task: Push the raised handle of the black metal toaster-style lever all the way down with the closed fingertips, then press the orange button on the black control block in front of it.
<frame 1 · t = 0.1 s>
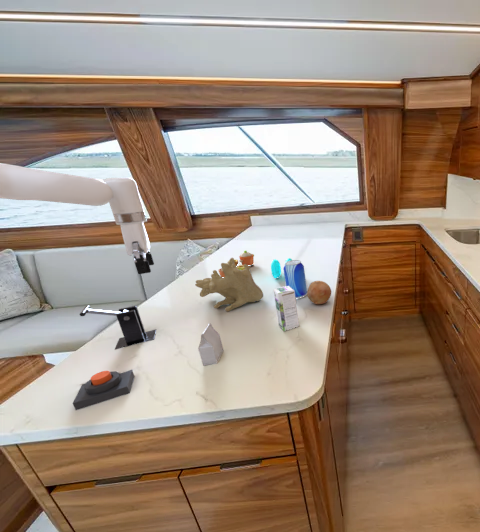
hand: (146, 269, 99), 23 cm above the counter, tool pointing down, fingers open, 9 cm apart
coconut: (320, 303, 126), on the counter
lever: (109, 313, 94), point 12 cm above the counter, hinge at 25.0°
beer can: (297, 296, 133), on the counter
button: (101, 378, 76), point 4 cm above the counter, slide at 0.1 cm
decorative coral: (232, 304, 127), on the counter
cyan lobed shape: (284, 277, 156), on the counter
syrup box: (289, 326, 108), on the counter
toy tea set: (237, 271, 168), on the counter
pale grey crystal: (213, 358, 91), on the counter
bracket: (137, 341, 100), on the counter
control block: (107, 392, 77), on the counter
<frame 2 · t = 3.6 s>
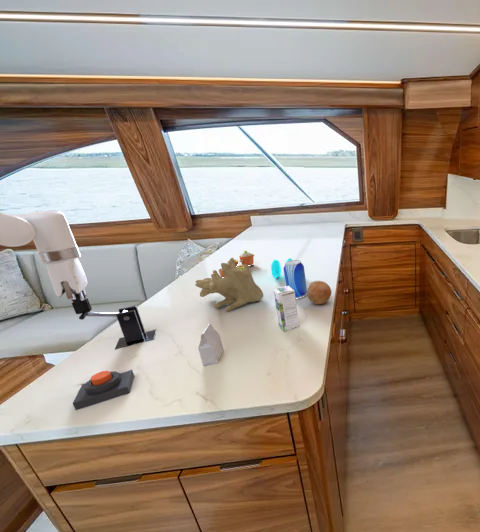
hand: (84, 311, 91), 14 cm above the counter, tool pointing down, fingers closed
lever: (108, 314, 94), point 11 cm above the counter, hinge at 18.8°, touching gripper
everything else where it was.
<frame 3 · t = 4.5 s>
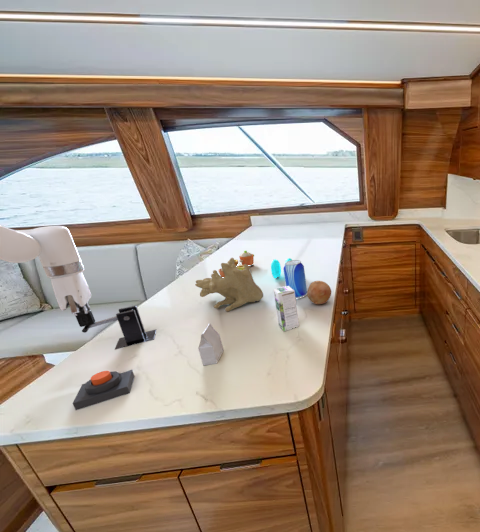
hand: (87, 324, 92), 10 cm above the counter, tool pointing down, fingers closed
lever: (109, 320, 95), point 10 cm above the counter, hinge at -6.0°, touching gripper
everything else where it was.
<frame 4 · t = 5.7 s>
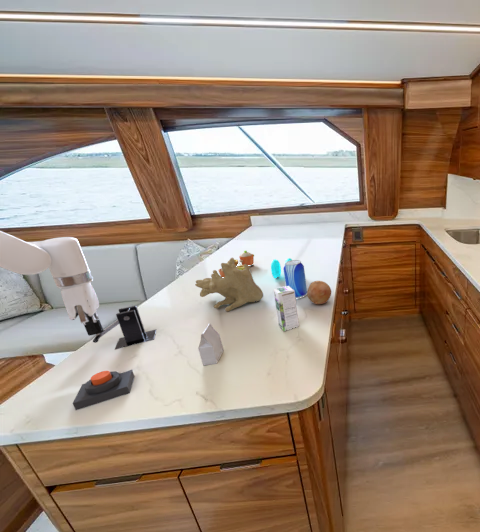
hand: (96, 333, 94), 6 cm above the counter, tool pointing down, fingers closed
lever: (114, 324, 96), point 8 cm above the counter, hinge at -30.7°, touching gripper
everything else where it was.
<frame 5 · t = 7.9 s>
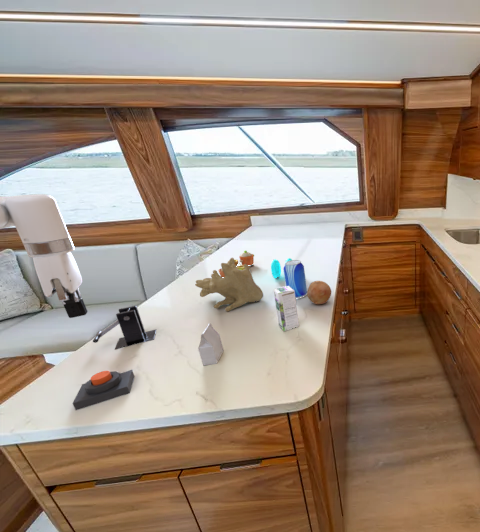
hand: (78, 315, 77), 19 cm above the counter, tool pointing down, fingers closed
lever: (114, 324, 96), point 8 cm above the counter, hinge at -30.7°
everything else where it was.
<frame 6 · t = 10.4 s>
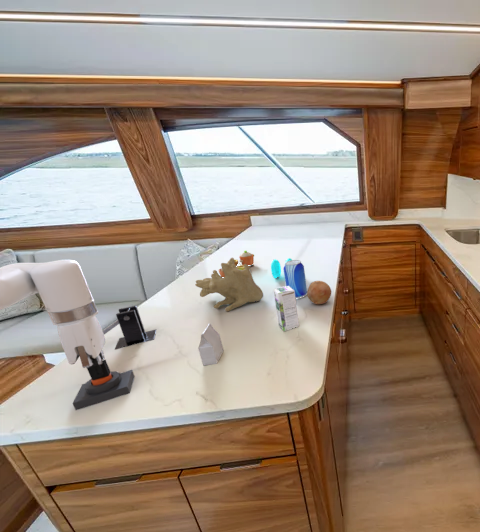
hand: (101, 376, 76), 5 cm above the counter, tool pointing down, fingers closed
button: (102, 379, 76), point 4 cm above the counter, slide at -0.4 cm, touching gripper
everything else where it was.
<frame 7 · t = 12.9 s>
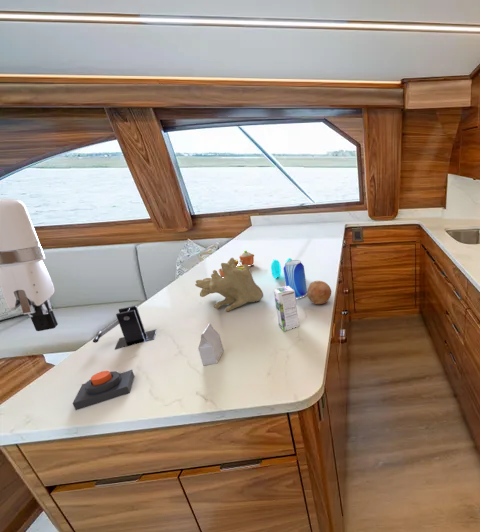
hand: (47, 328, 72), 19 cm above the counter, tool pointing down, fingers closed
button: (101, 378, 76), point 4 cm above the counter, slide at 0.1 cm
everything else where it was.
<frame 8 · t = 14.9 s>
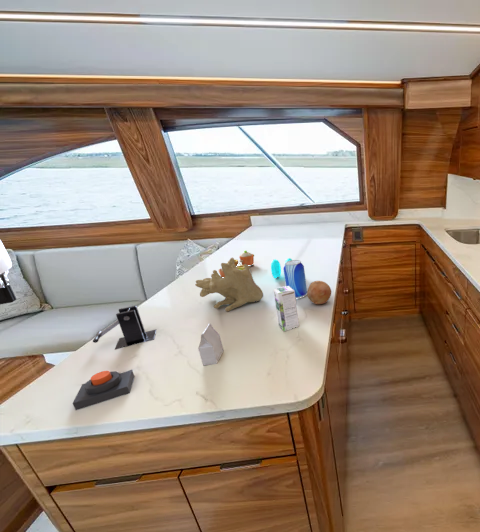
hand: (5, 302, 71), 25 cm above the counter, tool pointing down, fingers closed
nothing on the counter moved.
at the end: lever at -31° (first picture: +25°); button pushed in 1.1 cm at the most during the clip, back to where it started at the end; button slide at 0.1 cm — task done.
